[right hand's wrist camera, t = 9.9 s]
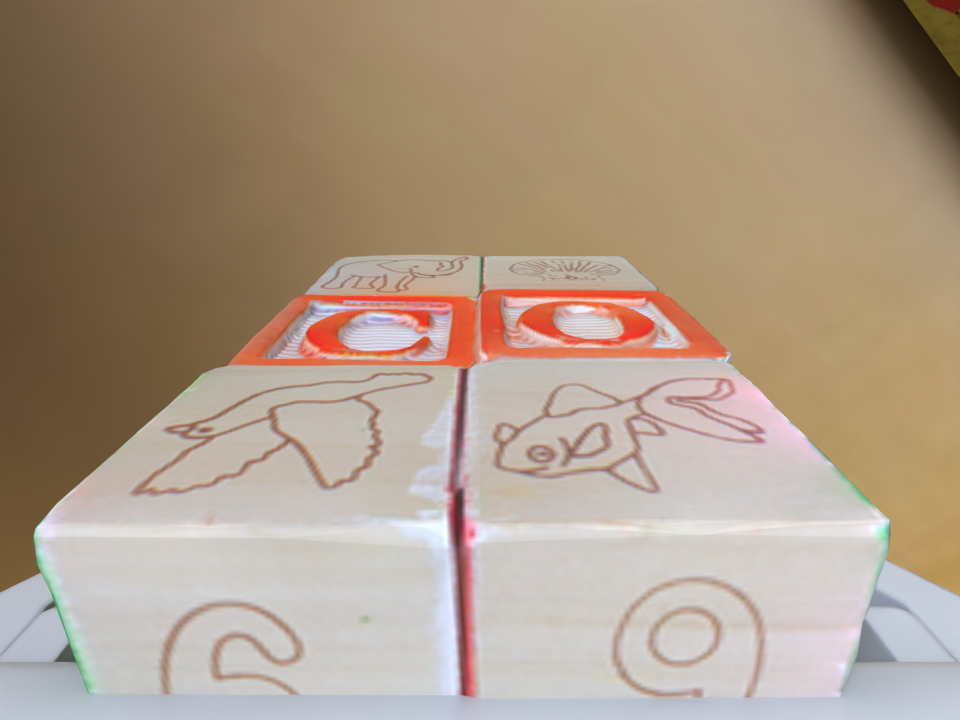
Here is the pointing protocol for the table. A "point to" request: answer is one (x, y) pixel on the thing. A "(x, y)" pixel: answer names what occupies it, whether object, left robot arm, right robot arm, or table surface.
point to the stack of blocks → (468, 505)
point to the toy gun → (940, 26)
